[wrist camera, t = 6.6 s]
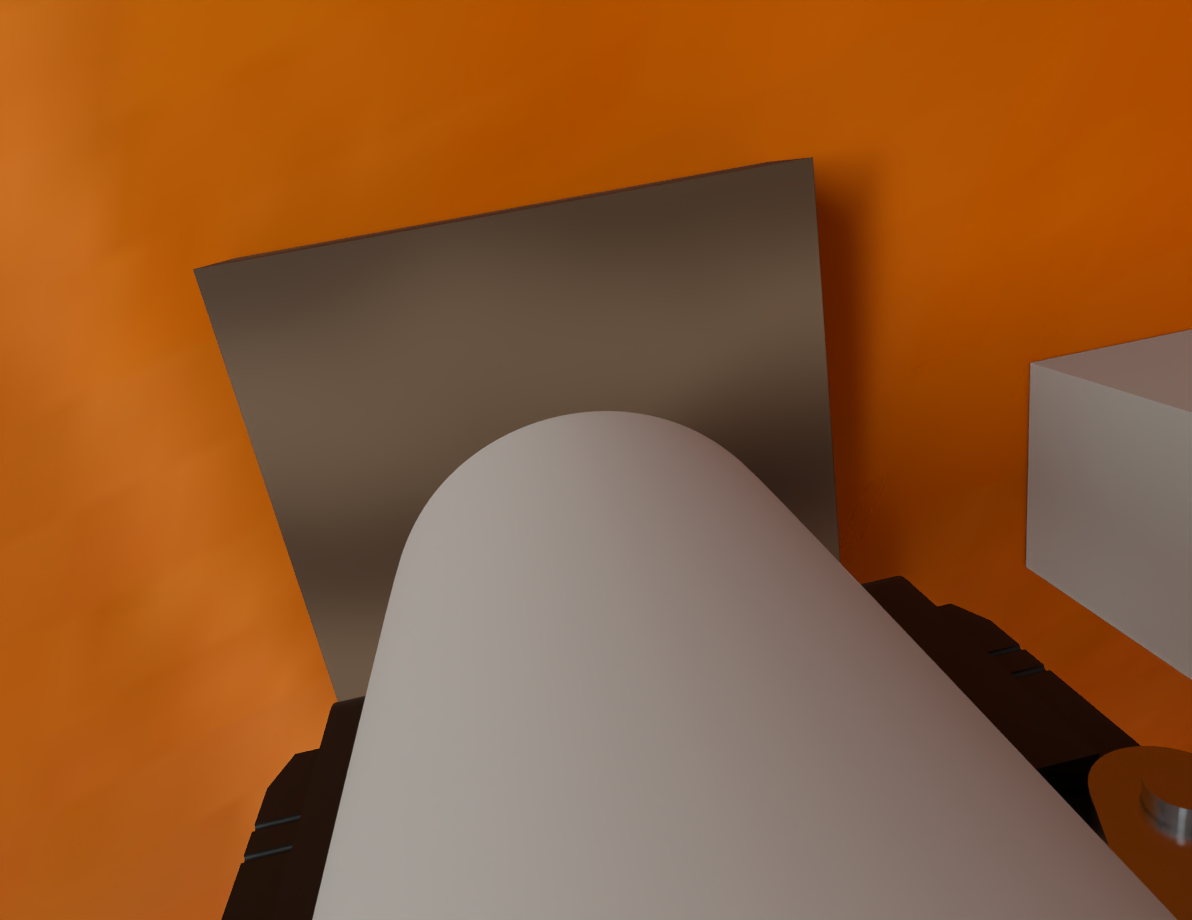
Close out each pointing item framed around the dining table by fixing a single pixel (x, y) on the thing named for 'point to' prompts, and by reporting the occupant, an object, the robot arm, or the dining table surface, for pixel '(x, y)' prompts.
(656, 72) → the dining table surface
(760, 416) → the base
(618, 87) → the dining table surface
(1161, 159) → the dining table surface
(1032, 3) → the dining table surface
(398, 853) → the can
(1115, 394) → the white box
